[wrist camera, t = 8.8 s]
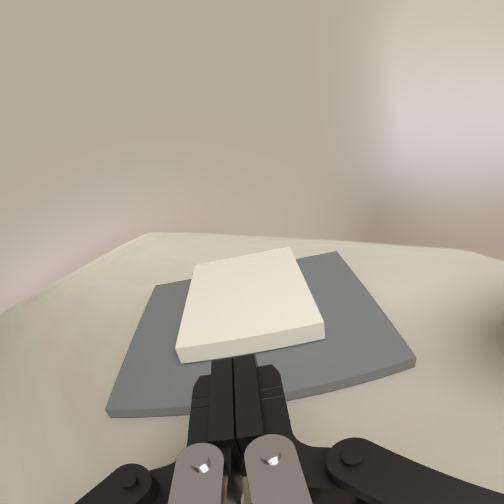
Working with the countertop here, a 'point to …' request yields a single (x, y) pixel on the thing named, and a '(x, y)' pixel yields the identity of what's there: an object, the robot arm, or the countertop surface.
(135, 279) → the countertop surface
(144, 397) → the mat
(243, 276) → the tile
